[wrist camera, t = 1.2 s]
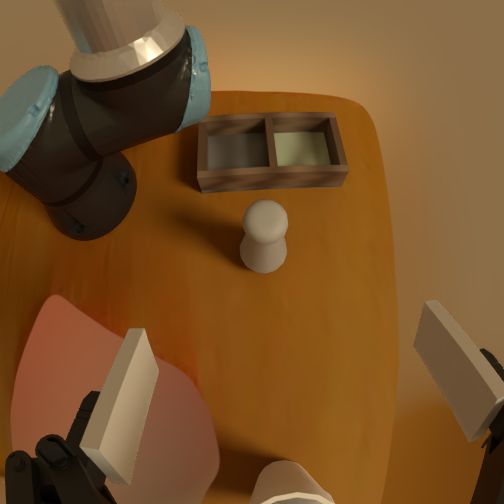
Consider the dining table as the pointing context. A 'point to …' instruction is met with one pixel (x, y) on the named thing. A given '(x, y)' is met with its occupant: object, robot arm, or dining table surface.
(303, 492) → the foam cup
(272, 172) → the wooden compartment tray
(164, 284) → the dining table surface
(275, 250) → the salt shaker
